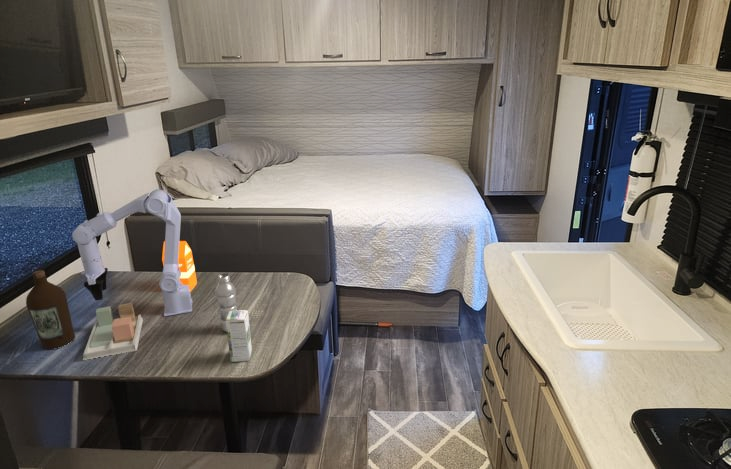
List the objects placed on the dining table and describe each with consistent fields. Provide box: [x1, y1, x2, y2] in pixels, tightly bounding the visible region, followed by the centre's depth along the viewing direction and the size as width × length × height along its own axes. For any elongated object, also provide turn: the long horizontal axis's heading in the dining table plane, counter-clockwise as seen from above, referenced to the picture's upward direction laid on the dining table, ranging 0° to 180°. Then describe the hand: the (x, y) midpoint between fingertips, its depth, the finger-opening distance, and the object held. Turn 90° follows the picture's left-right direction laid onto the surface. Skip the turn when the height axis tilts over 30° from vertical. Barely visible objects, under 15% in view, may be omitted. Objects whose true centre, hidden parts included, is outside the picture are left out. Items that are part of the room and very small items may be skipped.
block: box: [112, 317, 134, 341], centre depth 153 cm, size 5×5×5 cm
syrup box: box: [225, 309, 253, 363], centre depth 142 cm, size 6×6×14 cm
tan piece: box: [114, 302, 138, 343], centre depth 157 cm, size 14×6×6 cm, turn 19°
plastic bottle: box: [214, 272, 238, 333], centre depth 156 cm, size 6×7×20 cm
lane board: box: [82, 314, 144, 361], centre depth 155 cm, size 20×15×2 cm
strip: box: [90, 306, 114, 348], centre depth 155 cm, size 14×6×6 cm, turn 19°
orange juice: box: [161, 240, 198, 293], centre depth 186 cm, size 8×9×20 cm
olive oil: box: [25, 269, 76, 350], centre depth 150 cm, size 11×11×25 cm
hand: (101, 294), depth 164 cm, fingers open, 7 cm apart
